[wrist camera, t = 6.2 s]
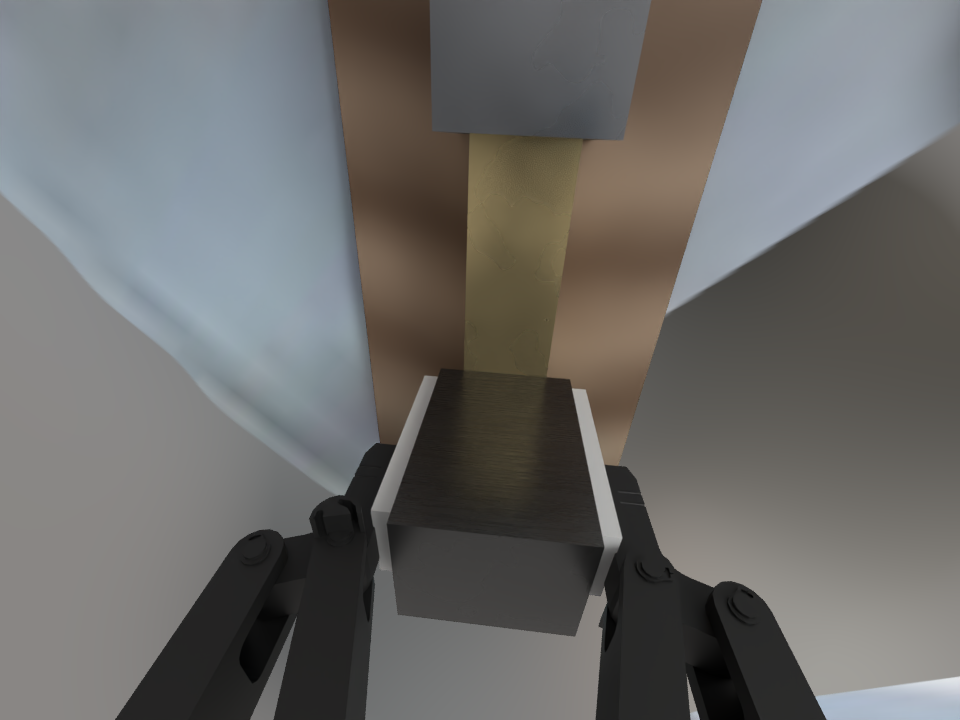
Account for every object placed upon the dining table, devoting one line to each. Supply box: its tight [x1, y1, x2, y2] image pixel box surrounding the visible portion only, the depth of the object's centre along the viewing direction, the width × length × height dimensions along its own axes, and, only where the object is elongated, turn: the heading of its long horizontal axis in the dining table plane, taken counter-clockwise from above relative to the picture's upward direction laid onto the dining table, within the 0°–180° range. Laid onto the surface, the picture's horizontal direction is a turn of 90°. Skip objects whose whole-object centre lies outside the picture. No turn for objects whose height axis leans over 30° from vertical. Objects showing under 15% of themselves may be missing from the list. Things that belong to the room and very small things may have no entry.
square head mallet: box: [387, 133, 605, 636], centre depth 13 cm, size 18×5×10 cm, turn 178°
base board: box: [328, 0, 762, 466], centre depth 17 cm, size 27×14×1 cm, turn 178°
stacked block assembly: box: [430, 0, 651, 140], centre depth 14 cm, size 26×10×6 cm, turn 178°
